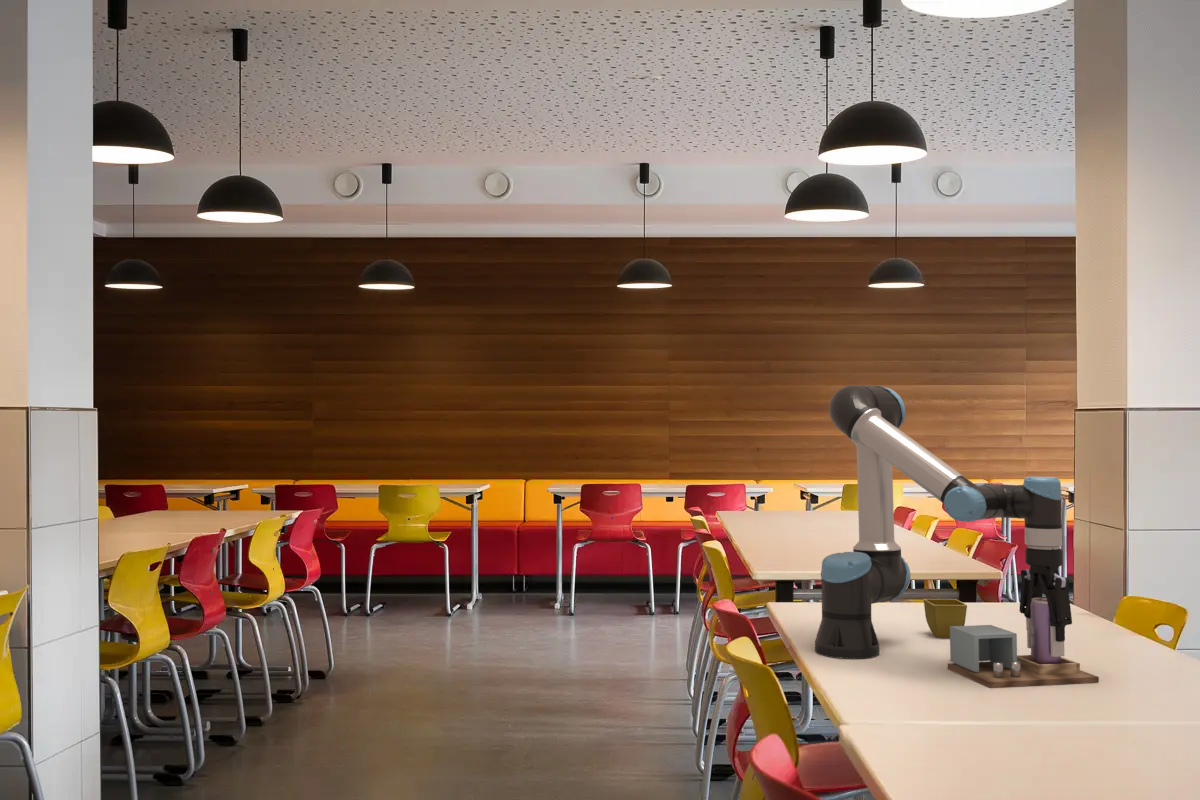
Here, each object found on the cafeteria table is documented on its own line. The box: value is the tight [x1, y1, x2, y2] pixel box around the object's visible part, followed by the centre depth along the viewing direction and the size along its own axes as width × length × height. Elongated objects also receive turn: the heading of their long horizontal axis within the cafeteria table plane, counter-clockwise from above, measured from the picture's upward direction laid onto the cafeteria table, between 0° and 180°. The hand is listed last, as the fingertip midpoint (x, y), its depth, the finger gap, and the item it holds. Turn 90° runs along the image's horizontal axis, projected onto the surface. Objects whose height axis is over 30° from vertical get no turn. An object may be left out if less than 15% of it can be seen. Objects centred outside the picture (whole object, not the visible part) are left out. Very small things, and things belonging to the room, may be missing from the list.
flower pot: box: [923, 598, 968, 639], centre depth 256 cm, size 9×9×9 cm
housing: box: [949, 624, 1018, 672], centre depth 217 cm, size 10×10×8 cm
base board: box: [946, 654, 1100, 689], centre depth 214 cm, size 25×17×3 cm
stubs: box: [993, 661, 1021, 678], centre depth 208 cm, size 6×2×3 cm, turn 100°
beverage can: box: [1030, 596, 1062, 665], centre depth 215 cm, size 6×6×15 cm
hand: (1045, 651), depth 215 cm, fingers open, 8 cm apart
